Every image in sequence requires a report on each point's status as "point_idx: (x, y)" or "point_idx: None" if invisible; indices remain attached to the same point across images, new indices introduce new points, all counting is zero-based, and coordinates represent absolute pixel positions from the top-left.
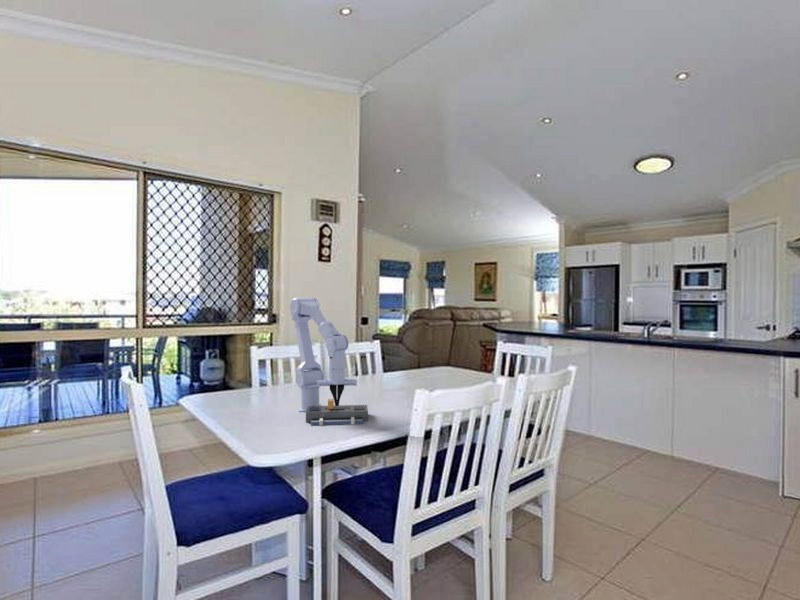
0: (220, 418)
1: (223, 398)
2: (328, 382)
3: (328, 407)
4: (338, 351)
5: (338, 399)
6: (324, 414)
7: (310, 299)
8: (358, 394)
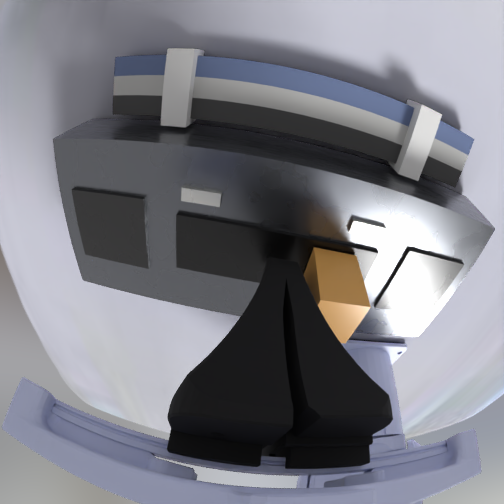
0: None
1: (459, 412)
2: (413, 494)
3: (354, 261)
4: None
5: (269, 295)
6: (397, 185)
7: None
8: None
